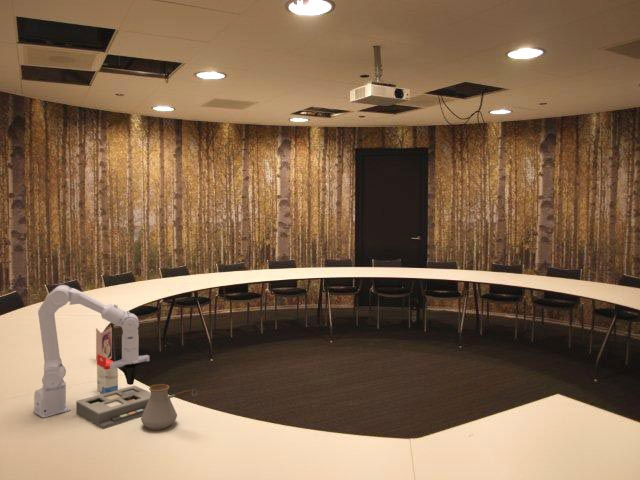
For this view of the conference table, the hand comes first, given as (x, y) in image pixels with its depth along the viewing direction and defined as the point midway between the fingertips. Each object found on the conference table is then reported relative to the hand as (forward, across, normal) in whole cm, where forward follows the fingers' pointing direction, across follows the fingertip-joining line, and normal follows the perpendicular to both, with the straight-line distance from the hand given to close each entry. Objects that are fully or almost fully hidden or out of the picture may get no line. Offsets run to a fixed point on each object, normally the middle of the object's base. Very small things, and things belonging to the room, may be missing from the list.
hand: (130, 383), depth 187 cm
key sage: (+6, -13, 0) cm, 14 cm away
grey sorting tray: (+7, -7, -4) cm, 11 cm away
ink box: (+8, 0, +18) cm, 19 cm away
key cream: (+5, -10, -6) cm, 13 cm away
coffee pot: (+8, -2, -29) cm, 30 cm away
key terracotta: (+6, -3, -7) cm, 9 cm away
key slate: (+5, 0, 0) cm, 5 cm away
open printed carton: (+8, +18, +57) cm, 61 cm away
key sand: (+5, -6, 0) cm, 8 cm away
